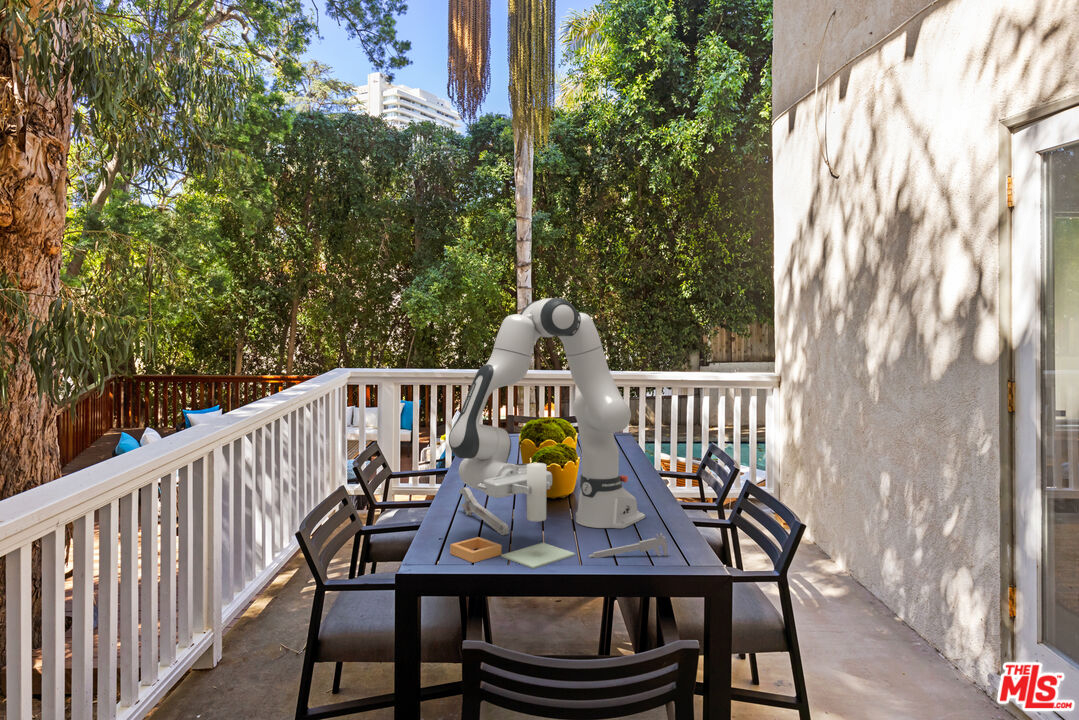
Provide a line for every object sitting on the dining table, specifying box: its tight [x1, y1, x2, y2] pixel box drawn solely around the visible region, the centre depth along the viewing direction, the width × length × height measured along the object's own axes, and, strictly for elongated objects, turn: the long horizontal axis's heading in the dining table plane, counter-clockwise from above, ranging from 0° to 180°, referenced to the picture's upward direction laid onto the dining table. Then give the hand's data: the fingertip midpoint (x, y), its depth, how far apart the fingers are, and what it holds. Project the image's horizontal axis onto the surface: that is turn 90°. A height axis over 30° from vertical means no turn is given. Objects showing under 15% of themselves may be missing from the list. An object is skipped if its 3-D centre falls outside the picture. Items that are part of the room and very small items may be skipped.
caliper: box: [588, 532, 668, 559], centre depth 187 cm, size 20×1×6 cm, turn 95°
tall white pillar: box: [526, 462, 547, 522], centre depth 186 cm, size 5×5×14 cm
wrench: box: [458, 486, 510, 536], centre depth 217 cm, size 8×2×30 cm
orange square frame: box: [449, 536, 502, 564], centre depth 188 cm, size 9×9×2 cm
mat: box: [500, 542, 576, 570], centre depth 187 cm, size 15×12×1 cm
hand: (538, 488), depth 185 cm, fingers closed on tall white pillar, 5 cm apart
